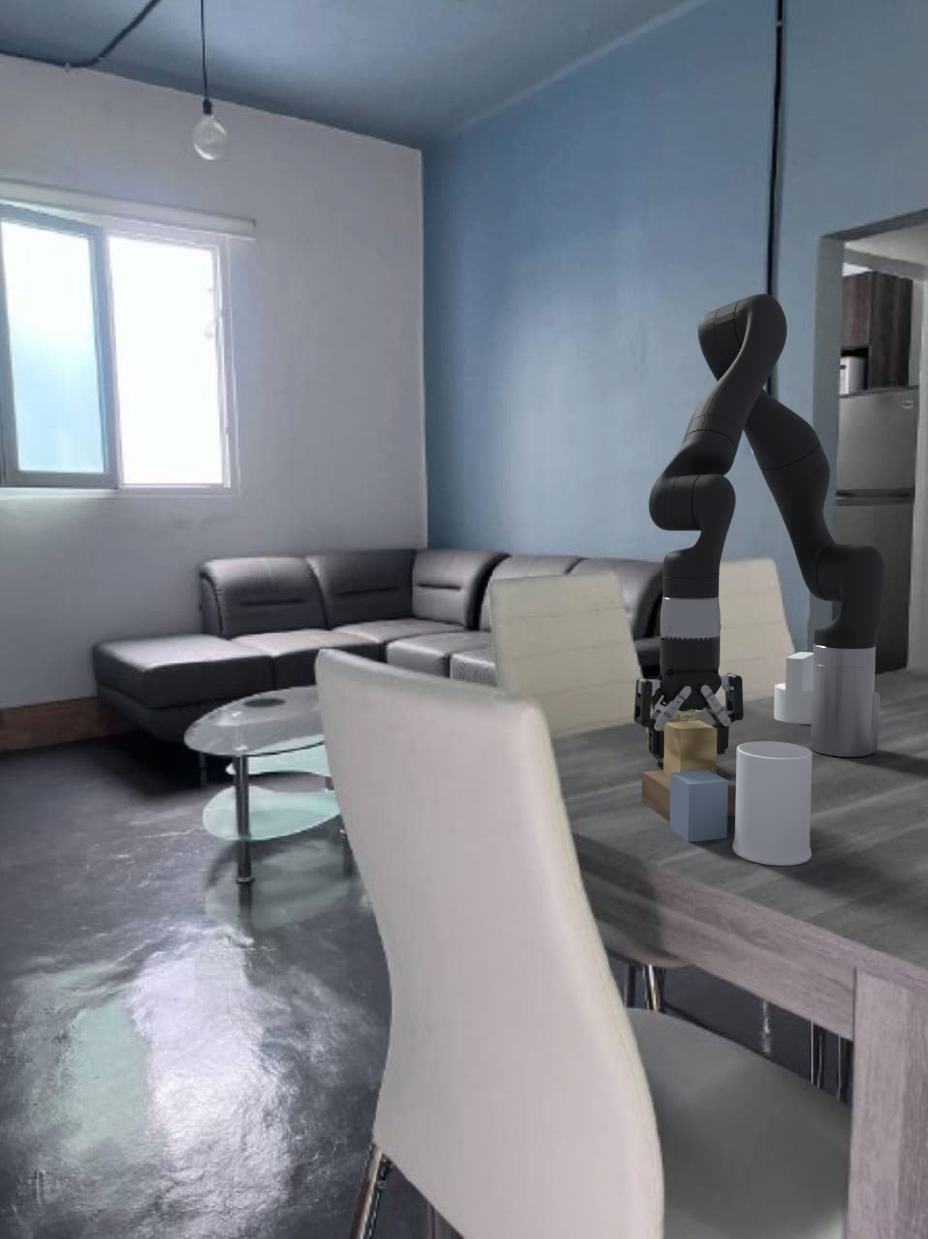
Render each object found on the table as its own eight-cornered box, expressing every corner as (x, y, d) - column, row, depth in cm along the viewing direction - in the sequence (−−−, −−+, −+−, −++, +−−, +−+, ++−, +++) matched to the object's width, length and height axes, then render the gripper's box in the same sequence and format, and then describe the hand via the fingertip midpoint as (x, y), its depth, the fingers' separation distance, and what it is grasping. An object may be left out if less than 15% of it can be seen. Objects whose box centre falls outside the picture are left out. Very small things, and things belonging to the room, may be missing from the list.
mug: (732, 827, 114) (734, 732, 113) (806, 833, 112) (809, 736, 110) (732, 862, 103) (734, 756, 101) (814, 869, 100) (817, 761, 99)
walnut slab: (703, 795, 127) (703, 767, 127) (735, 816, 118) (736, 785, 118) (641, 800, 125) (641, 771, 125) (670, 821, 116) (670, 790, 116)
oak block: (698, 771, 124) (698, 720, 124) (716, 782, 119) (717, 728, 119) (663, 774, 123) (664, 722, 122) (680, 785, 118) (680, 731, 118)
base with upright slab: (782, 711, 180) (784, 650, 179) (830, 717, 175) (832, 654, 173) (767, 720, 173) (769, 656, 171) (817, 726, 168) (819, 660, 166)
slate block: (707, 824, 115) (708, 769, 114) (726, 838, 110) (728, 781, 110) (669, 828, 114) (670, 772, 113) (688, 842, 109) (688, 784, 109)
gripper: (726, 626, 124) (724, 745, 126) (626, 630, 121) (625, 752, 123) (755, 633, 117) (752, 758, 119) (650, 637, 114) (648, 766, 116)
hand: (688, 755), depth 121 cm, fingers open, 8 cm apart
